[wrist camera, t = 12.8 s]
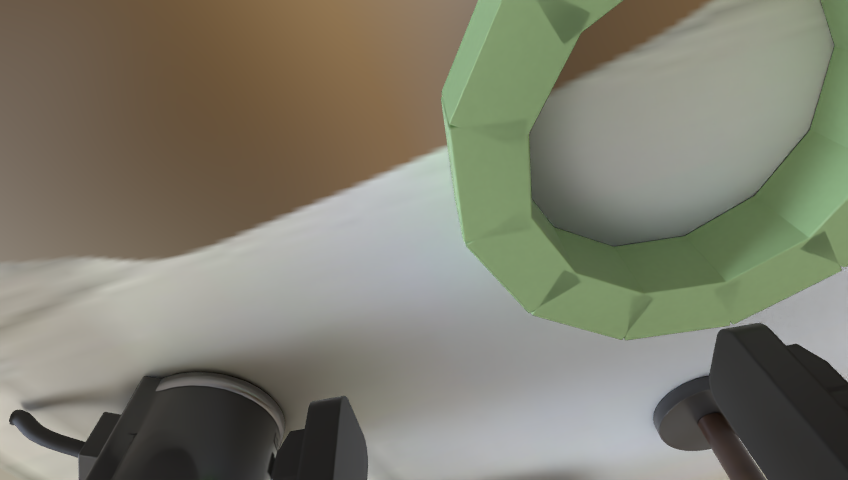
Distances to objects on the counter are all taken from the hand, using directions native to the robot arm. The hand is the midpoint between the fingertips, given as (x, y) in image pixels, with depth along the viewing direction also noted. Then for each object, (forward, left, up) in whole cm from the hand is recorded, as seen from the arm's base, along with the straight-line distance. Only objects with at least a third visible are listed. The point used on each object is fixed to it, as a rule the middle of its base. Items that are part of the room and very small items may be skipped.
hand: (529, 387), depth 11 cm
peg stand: (+24, -13, -14) cm, 31 cm away
